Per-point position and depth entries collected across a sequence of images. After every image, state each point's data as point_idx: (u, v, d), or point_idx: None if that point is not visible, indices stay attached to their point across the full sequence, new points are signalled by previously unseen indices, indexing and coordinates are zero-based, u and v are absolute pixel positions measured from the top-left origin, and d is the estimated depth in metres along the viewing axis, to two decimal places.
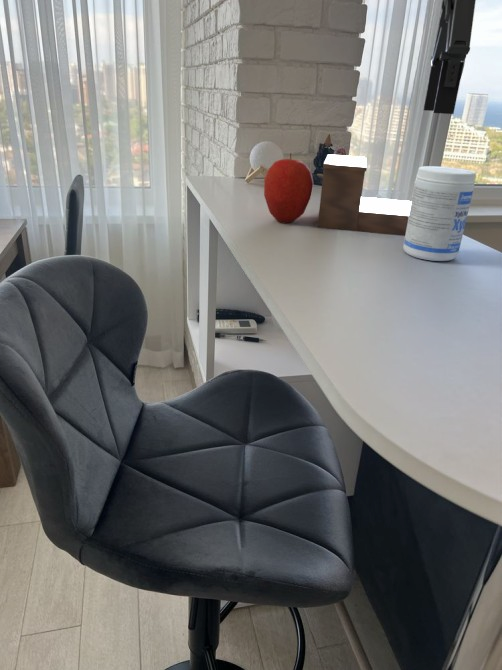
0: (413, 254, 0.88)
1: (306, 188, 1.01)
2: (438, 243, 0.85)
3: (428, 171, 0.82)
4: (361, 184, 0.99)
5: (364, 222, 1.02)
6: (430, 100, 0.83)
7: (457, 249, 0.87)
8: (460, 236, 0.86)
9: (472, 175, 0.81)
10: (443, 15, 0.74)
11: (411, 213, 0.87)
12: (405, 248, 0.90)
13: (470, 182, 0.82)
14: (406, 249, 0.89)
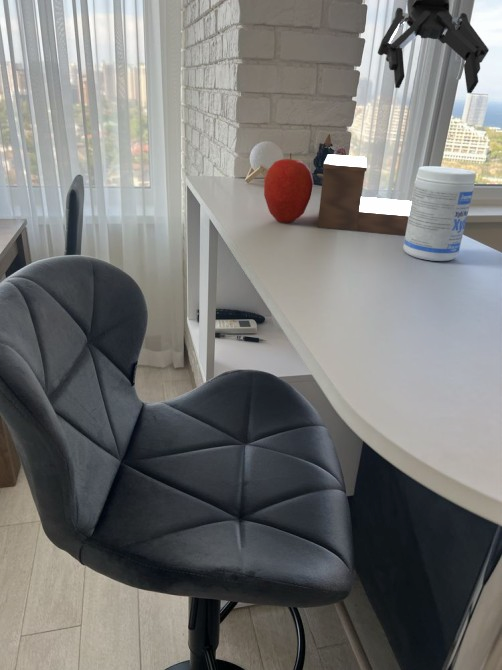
0: (413, 254, 0.88)
1: (306, 188, 1.01)
2: (438, 243, 0.85)
3: (428, 171, 0.82)
4: (361, 184, 0.99)
5: (364, 222, 1.02)
6: (468, 83, 0.93)
7: (457, 249, 0.87)
8: (460, 236, 0.86)
9: (472, 175, 0.81)
10: None
11: (411, 213, 0.87)
12: (405, 248, 0.90)
13: (470, 182, 0.82)
14: (406, 249, 0.89)
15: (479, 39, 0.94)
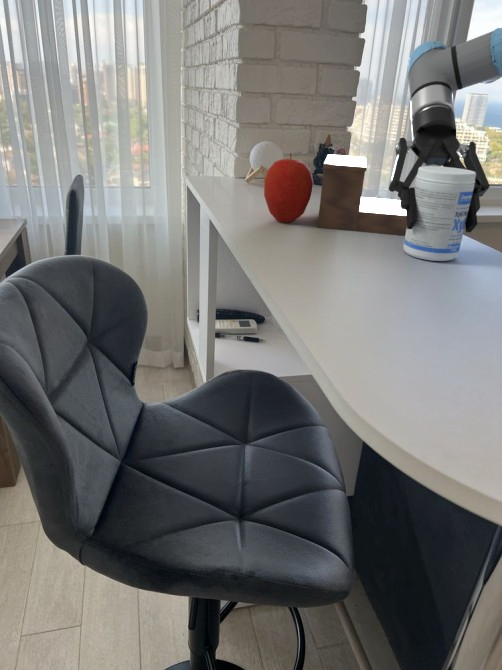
0: (413, 254, 0.88)
1: (306, 188, 1.01)
2: (438, 243, 0.85)
3: (428, 171, 0.82)
4: (361, 184, 0.99)
5: (364, 222, 1.02)
6: (467, 222, 0.86)
7: (457, 249, 0.87)
8: (460, 236, 0.86)
9: (472, 175, 0.81)
10: None
11: None
12: (405, 248, 0.90)
13: (470, 182, 0.82)
14: (406, 249, 0.89)
15: (482, 173, 0.88)
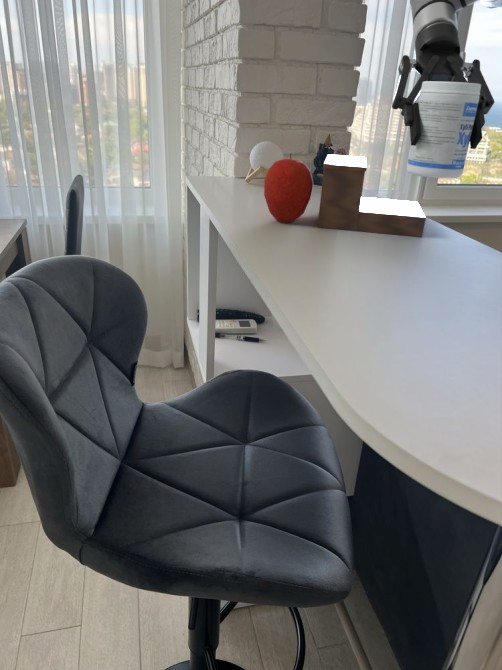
0: (417, 172, 0.86)
1: (306, 188, 1.01)
2: (443, 158, 0.84)
3: (432, 82, 0.81)
4: (361, 184, 0.99)
5: (364, 222, 1.02)
6: (471, 138, 0.85)
7: (462, 166, 0.86)
8: (465, 152, 0.85)
9: (477, 85, 0.80)
10: None
11: None
12: (409, 168, 0.88)
13: (475, 92, 0.80)
14: (410, 168, 0.88)
15: (487, 89, 0.86)
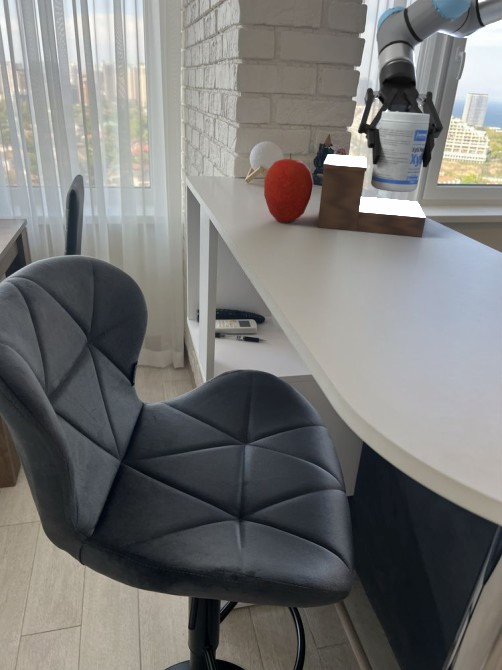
0: (378, 186, 1.03)
1: (306, 188, 1.01)
2: (398, 175, 1.00)
3: (389, 113, 0.98)
4: (361, 184, 0.99)
5: (364, 222, 1.02)
6: (423, 158, 1.02)
7: (415, 182, 1.02)
8: (417, 170, 1.01)
9: (425, 115, 0.97)
10: None
11: None
12: (372, 182, 1.05)
13: (424, 121, 0.97)
14: (373, 183, 1.05)
15: (437, 117, 1.03)
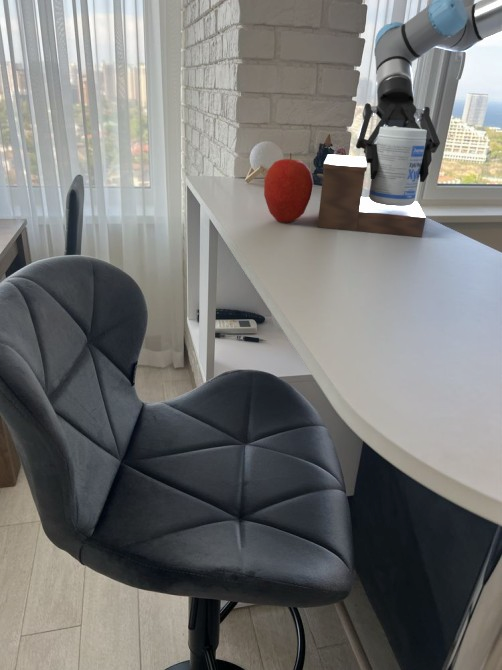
0: (376, 201, 1.04)
1: (306, 188, 1.01)
2: (396, 190, 1.02)
3: (386, 129, 0.99)
4: (361, 184, 0.99)
5: (364, 222, 1.02)
6: (421, 173, 1.03)
7: (413, 196, 1.03)
8: (415, 185, 1.02)
9: (423, 132, 0.98)
10: None
11: None
12: (370, 197, 1.06)
13: (421, 137, 0.98)
14: (371, 197, 1.06)
15: (434, 132, 1.04)
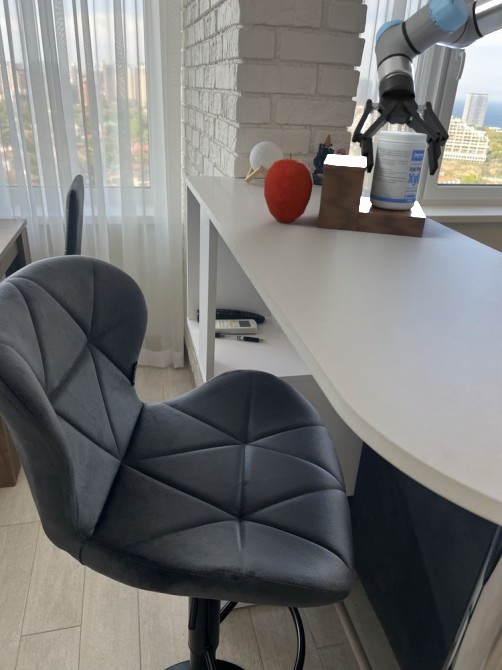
0: (376, 205, 1.05)
1: (306, 188, 1.01)
2: (396, 194, 1.02)
3: (387, 133, 0.99)
4: (361, 184, 0.99)
5: (364, 222, 1.02)
6: (430, 166, 1.03)
7: (413, 200, 1.04)
8: (415, 189, 1.03)
9: (423, 136, 0.98)
10: (405, 122, 1.07)
11: (374, 170, 1.04)
12: (370, 200, 1.07)
13: (421, 142, 0.99)
14: (371, 201, 1.06)
15: (441, 126, 1.04)
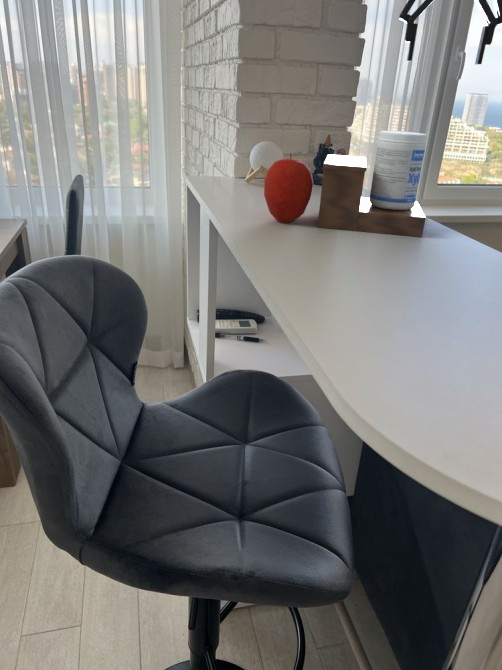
0: (376, 205, 1.05)
1: (306, 188, 1.01)
2: (396, 194, 1.02)
3: (387, 133, 0.99)
4: (361, 184, 0.99)
5: (364, 222, 1.02)
6: (477, 55, 1.02)
7: (413, 200, 1.04)
8: (415, 189, 1.03)
9: (423, 136, 0.98)
10: None
11: (374, 170, 1.04)
12: (370, 200, 1.07)
13: (421, 142, 0.99)
14: (371, 201, 1.06)
15: None
